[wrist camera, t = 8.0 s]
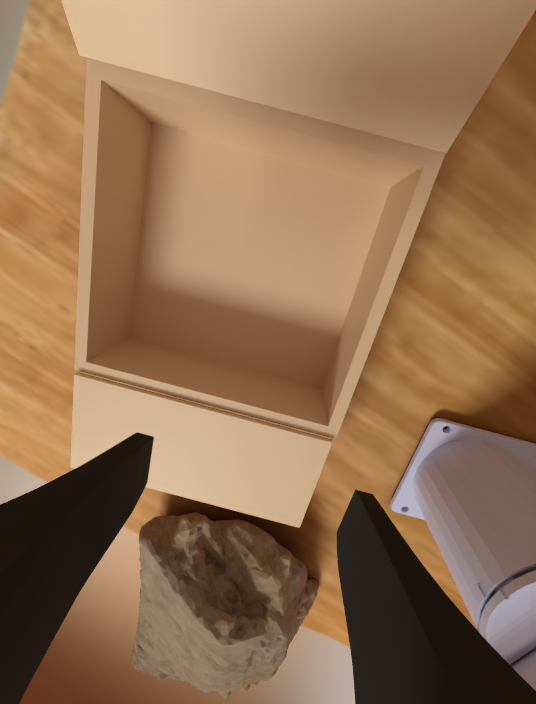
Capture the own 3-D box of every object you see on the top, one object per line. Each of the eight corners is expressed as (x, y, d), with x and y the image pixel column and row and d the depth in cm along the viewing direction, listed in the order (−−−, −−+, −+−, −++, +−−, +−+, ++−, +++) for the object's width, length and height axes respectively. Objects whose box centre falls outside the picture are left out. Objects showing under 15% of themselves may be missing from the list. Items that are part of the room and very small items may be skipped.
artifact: (336, 509, 25) (158, 470, 26) (349, 603, 18) (102, 544, 19) (294, 668, 30) (144, 630, 31) (291, 794, 22) (95, 739, 23)
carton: (402, 179, 16) (449, 149, 11) (301, 466, 23) (302, 528, 18) (146, 111, 16) (81, 51, 11) (117, 418, 23) (67, 466, 18)
